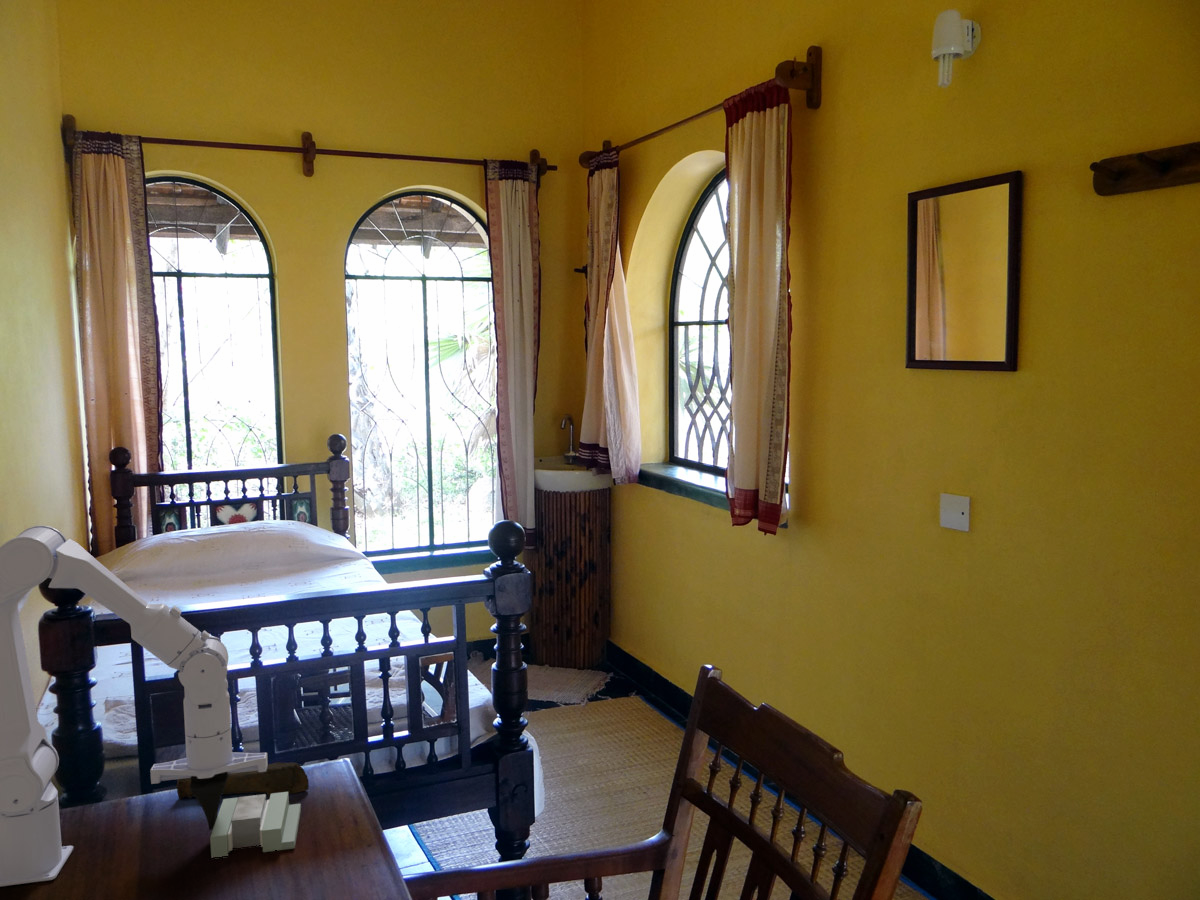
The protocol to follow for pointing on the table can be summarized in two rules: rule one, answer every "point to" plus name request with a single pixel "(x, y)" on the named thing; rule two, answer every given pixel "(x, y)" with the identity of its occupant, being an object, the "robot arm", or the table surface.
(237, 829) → the block
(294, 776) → the brown wooden log
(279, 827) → the pale green bar
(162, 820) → the table surface
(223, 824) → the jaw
